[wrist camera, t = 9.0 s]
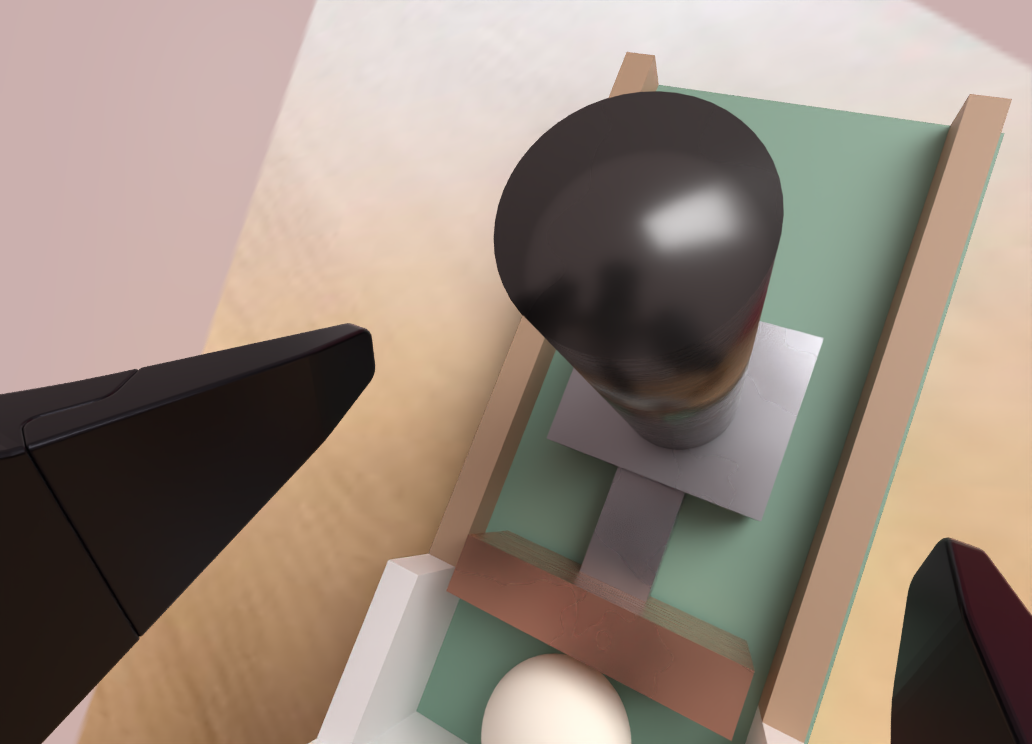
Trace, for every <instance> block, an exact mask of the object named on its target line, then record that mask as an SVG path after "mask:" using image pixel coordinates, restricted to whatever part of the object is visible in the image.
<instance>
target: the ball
mask: <svg viewBox="0 0 1032 744" xmlns="http://www.w3.org/2000/svg"><path fill="white" fill-rule="evenodd" d="M481 744H631V731H630V726H629V721H628V717H627V714H626V710H625V708H624V705H623V703H622V701H621V699H620V697H619V695H618V693H617V691H616V690H615V689H614V687H613V686H612V684H611V683H610V682H609V681H608V679H607V678H606V677H605V676H604V675H603V674H602V673H601V672H599V671H597V670H596V669H594V668H592V667H590V666H588V665H586V664H584V663H582V662H580V661H578V660H577V659H575V658H573V657H571V656H569V655H565V654H555V653H554V654H543V655H538V656H535V657H532V658H529V659H527V660H525V661H523V662H521V663H519V664H518V665H516V666H515V667H514V668H512V669H511V670H510V671H509V672H508V673H507V674H506V675H505V676H504V677H503V678H502V679H501V680H500V681H499V683H498V684H497V686H496V687H495V689H494V691H493V693H492V695H491V697H490V699H489V701H488V704H487V706H486V709H485V713H484V717H483V722H482V731H481Z"/></svg>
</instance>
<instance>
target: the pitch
mask: <svg viewBox="0 0 1032 744" xmlns="http://www.w3.org/2000/svg"><path fill="white" fill-rule="evenodd" d="M649 91H662V92H674V93H681V94H685V95H690V96H695V97H698V98H700V99H703V100H706V101H709V102H712V103H714V104H716V105H718V106H720V107H722V108H724V109H726V110H727V111H729V112H730V113H732V114H733V115H735V116H736V117H737V118H739V119H740V120H742V121H743V122H744V123H745V124H746V125H747V126H748V127H749V128H750V129H751V130H752V131H753V132H754V133H755V134H756V135H757V137H758V138H759V139H760V140H761V142H762V143H763V144H764V146H765V147H766V149H767V151H768V152H769V154H770V156H771V158H772V160H773V161H774V164H775V167H776V170H777V172H778V175H779V178H780V183H781V188H782V193H783V207H784V217H783V225H782V233H781V238H780V242H779V246H778V250H777V254H776V258H775V262H774V266H773V270H772V274H771V278H770V282H769V286H768V290H767V294H766V298H765V302H764V306H763V310H762V314H761V318H760V321H762V322H765V323H769V324H773V325H777V326H780V327H784V328H788V329H791V330H795V331H799V332H802V333H806V334H810V335H813V336H817V337H821V338H824V339H823V342H822V345H821V348H820V351H819V354H818V357H817V360H816V362H815V365H814V368H813V371H812V374H811V377H810V380H809V383H808V386H807V389H806V392H805V395H804V398H803V400H802V403H801V406H800V409H799V412H798V415H797V418H796V421H795V424H794V427H793V430H792V433H791V436H790V439H789V441H788V444H787V447H786V450H785V453H784V456H783V459H782V462H781V465H780V468H779V471H778V474H777V477H776V479H775V482H774V485H773V488H772V491H771V494H770V497H769V500H768V503H767V506H766V509H765V512H764V515H763V517H762V520H761V521H756V520H753V519H751V518H748V517H745V516H743V515H740V514H738V513H735V512H732V511H730V510H727V509H725V508H722V507H720V506H717V505H714V504H712V503H709V502H707V501H704V500H702V499H699V498H696V497H694V496H691V495H689V494H686V497H685V500H684V503H683V505H682V508H681V511H680V514H679V517H678V519H677V522H676V525H675V528H674V531H673V534H672V536H671V539H670V542H669V545H668V548H667V550H666V553H665V556H664V559H663V562H662V564H661V567H660V570H659V573H658V576H657V578H656V581H655V584H654V587H653V590H652V593H651V595H650V596H651V597H653V598H655V599H657V600H660V601H662V602H664V603H666V604H668V605H670V606H673V607H675V608H677V609H679V610H681V611H683V612H686V613H688V614H690V615H692V616H694V617H696V618H699V619H701V620H703V621H705V622H707V623H709V624H712V625H714V626H716V627H718V628H720V629H722V630H725V631H727V632H729V633H731V634H733V635H735V636H738V637H740V638H742V639H744V640H746V641H747V643H748V647H749V651H750V655H751V659H752V662H753V666H754V670H755V672H754V675H753V678H752V681H751V684H750V687H749V690H748V693H747V696H746V699H745V702H744V705H743V708H742V711H741V714H740V717H739V720H738V723H737V726H736V729H735V732H734V735H733V738H732V741H731V740H729V739H727V738H725V737H723V736H721V735H719V734H717V733H715V732H713V731H712V730H710V729H708V728H706V727H704V726H702V725H700V724H698V723H696V722H694V721H693V720H691V719H689V718H687V717H685V716H683V715H681V714H679V713H677V712H675V711H674V710H672V709H670V708H668V707H666V706H664V705H662V704H660V703H658V702H656V701H655V700H653V699H651V698H649V697H647V696H645V695H643V694H641V693H639V692H637V691H635V690H634V689H632V688H630V687H628V686H626V685H624V684H622V683H620V682H618V681H616V680H615V679H613V678H611V677H609V676H607V675H605V674H603V673H602V674H603V675H604V676H605V677H606V678H607V679H608V681H609V682H610V683H611V684H612V686H613V687H614V689H615V690H616V691H617V693H618V695H619V697H620V699H621V701H622V703H623V705H624V708H625V710H626V714H627V717H628V721H629V726H630V731H631V744H745V743H746V740H747V737H748V734H749V731H750V728H751V725H752V722H753V719H754V716H755V713H756V710H757V707H758V706H759V711H760V715H761V719H762V722H763V723H765V724H766V725H768V726H770V727H772V728H774V729H776V730H778V731H780V732H782V733H784V734H786V735H788V736H790V737H792V738H794V739H796V740H798V741H800V742H802V743H804V744H808V741H809V738H810V735H811V732H812V729H813V726H814V723H815V720H816V717H817V713H818V710H819V707H820V704H821V701H822V698H823V695H824V692H825V689H826V685H827V682H828V679H829V676H830V673H831V670H832V667H833V664H834V661H835V658H836V654H837V651H838V648H839V645H840V642H841V639H842V636H843V633H844V630H845V626H846V623H847V620H848V617H849V614H850V611H851V608H852V605H853V602H854V599H855V595H856V592H857V589H858V586H859V583H860V580H861V577H862V574H863V571H864V568H865V564H866V561H867V558H868V555H869V552H870V549H871V546H872V543H873V540H874V536H875V533H876V530H877V527H878V524H879V521H880V518H881V515H882V512H883V509H884V505H885V502H886V499H887V496H888V493H889V490H890V487H891V484H892V481H893V477H894V474H895V471H896V468H897V465H898V462H899V459H900V456H901V453H902V450H903V446H904V443H905V440H906V437H907V434H908V431H909V428H910V425H911V422H912V419H913V415H914V412H915V409H916V406H917V403H918V400H919V397H920V394H921V391H922V387H923V384H924V381H925V378H926V375H927V372H928V369H929V366H930V363H931V360H932V356H933V353H934V350H935V347H936V344H937V341H938V338H939V335H940V332H941V328H942V325H943V322H944V319H945V316H946V313H947V310H948V307H949V304H950V301H951V297H952V294H953V291H954V288H955V285H956V282H957V279H958V276H959V273H960V269H961V266H962V263H963V260H964V257H965V254H966V251H967V248H968V245H969V242H970V238H971V235H972V232H973V229H974V226H975V223H976V220H977V217H978V214H979V211H980V207H981V204H982V201H983V198H984V195H985V192H986V189H987V186H988V183H989V179H990V176H991V173H992V170H993V167H994V164H995V161H996V158H997V155H998V152H999V148H1000V145H1001V142H1002V139H1003V136H1004V133H1001V131H1002V128H1003V125H1004V122H1005V119H1006V116H1007V113H1008V110H1009V107H1010V104H1011V100H1012V99H1006V98H998V97H990V96H982V95H974V94H970V95H969V96H968V98H967V100H966V101H965V103H964V105H963V106H962V108H961V109H960V111H959V113H958V114H957V116H956V118H955V119H954V121H953V122H952V124H951V126H948V125H941V124H934V123H926V122H919V121H912V120H905V119H898V118H891V117H884V116H877V115H869V114H862V113H855V112H848V111H841V110H834V109H827V108H820V107H812V106H805V105H798V104H791V103H784V102H777V101H770V100H763V99H755V98H748V97H741V96H734V95H727V94H720V93H713V92H706V91H698V90H691V89H684V88H677V87H670V86H663V85H659V84H658V76H657V69H656V61H655V55H647V54H638V53H630V52H627V53H626V55H625V58H624V60H623V63H622V65H621V68H620V70H619V73H618V75H617V78H616V80H615V83H614V86H613V88H612V91H611V93H610V96H609V98H611V97H615V96H619V95H622V94H629V93H636V92H649ZM573 368H574V367H573V366H572V365H571V364H570V363H569V362H568V361H567V360H566V359H565V358H564V357H563V356H562V355H561V354H560V353H559V352H558V351H557V350H556V349H555V348H554V347H553V346H552V345H551V344H550V343H549V342H548V341H547V340H546V339H545V338H544V337H543V336H542V335H541V333H540V332H539V331H538V330H537V329H536V328H535V327H534V326H533V325H532V324H531V323H530V322H529V321H528V320H527V319H526V318H525V317H524V316H522V318H521V321H520V323H519V326H518V328H517V331H516V333H515V336H514V338H513V341H512V344H511V346H510V349H509V351H508V354H507V356H506V359H505V361H504V364H503V366H502V369H501V371H500V374H499V376H498V379H497V381H496V384H495V387H494V389H493V392H492V394H491V397H490V399H489V402H488V404H487V407H486V409H485V412H484V414H483V417H482V419H481V422H480V424H479V427H478V430H477V432H476V435H475V437H474V440H473V442H472V445H471V447H470V450H469V452H468V455H467V457H466V460H465V462H464V465H463V467H462V470H461V473H460V475H459V478H458V480H457V483H456V485H455V488H454V490H453V493H452V495H451V498H450V500H449V503H448V505H447V508H446V510H445V513H444V516H443V518H442V521H441V523H440V526H439V528H438V531H437V533H436V536H435V538H434V541H433V543H432V546H431V548H430V551H429V553H428V554H430V555H432V556H434V557H436V558H438V559H440V560H442V561H444V562H446V563H448V564H450V565H452V566H454V567H456V565H457V562H458V559H459V557H460V554H461V552H462V549H463V547H464V544H465V541H466V539H467V536H468V534H477V533H487V532H498V531H510V532H512V533H515V534H517V535H519V536H521V537H523V538H525V539H528V540H530V541H532V542H534V543H536V544H538V545H541V546H543V547H545V548H547V549H549V550H551V551H554V552H556V553H558V554H560V555H562V556H564V557H566V558H569V559H571V560H573V561H575V562H577V563H579V564H582V563H583V561H584V558H585V555H586V552H587V550H588V547H589V544H590V542H591V539H592V536H593V533H594V531H595V528H596V525H597V523H598V520H599V517H600V514H601V512H602V509H603V506H604V504H605V501H606V498H607V496H608V493H609V490H610V487H611V485H612V482H613V479H614V477H615V474H616V471H617V468H618V467H617V466H614V465H612V464H609V463H606V462H604V461H601V460H599V459H596V458H594V457H591V456H588V455H586V454H583V453H581V452H578V451H576V450H573V449H570V448H568V447H565V446H563V445H561V444H558V443H556V442H554V441H551V440H549V439H547V436H548V433H549V431H550V428H551V425H552V423H553V420H554V418H555V415H556V412H557V410H558V407H559V404H560V402H561V399H562V397H563V394H564V391H565V389H566V386H567V384H568V381H569V378H570V376H571V373H572V371H573ZM554 653H555V654H565V653H563V652H561V651H559V650H558V649H556V648H554V647H552V646H550V645H548V644H546V643H544V642H542V641H540V640H538V639H537V638H535V637H533V636H531V635H529V634H527V633H525V632H523V631H521V630H519V629H518V628H516V627H514V626H512V625H510V624H508V623H506V622H504V621H502V620H500V619H499V618H497V617H495V616H493V615H491V614H489V613H487V612H485V611H483V610H481V609H480V608H478V607H476V606H474V605H472V604H470V603H468V602H466V601H464V600H462V599H461V598H460V599H459V602H458V604H457V607H456V610H455V612H454V615H453V617H452V620H451V622H450V625H449V628H448V630H447V633H446V635H445V638H444V640H443V643H442V646H441V648H440V651H439V653H438V656H437V659H436V661H435V664H434V666H433V669H432V671H431V674H430V677H429V679H428V682H427V684H426V687H425V690H424V692H423V695H422V697H421V700H420V702H419V705H418V708H417V710H416V711H417V712H418V713H420V714H421V715H423V716H425V717H426V718H428V719H429V720H431V721H433V722H434V723H436V724H437V725H439V726H441V727H442V728H444V729H445V730H447V731H449V732H450V733H452V734H453V735H455V736H457V737H458V738H460V739H461V740H463V741H465V742H466V743H468V744H481V731H482V722H483V717H484V713H485V709H486V706H487V704H488V701H489V699H490V697H491V695H492V693H493V691H494V689H495V687H496V686H497V684H498V683H499V681H500V680H501V679H502V678H503V677H504V676H505V675H506V674H507V673H508V672H509V671H510V670H511V669H512V668H514V667H515V666H516V665H518V664H519V663H521V662H523V661H525V660H527V659H529V658H532V657H535V656H538V655H543V654H554ZM565 655H567V654H565Z"/></svg>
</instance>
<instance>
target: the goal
mask: <svg viewBox="0 0 1032 744" xmlns="http://www.w3.org/2000/svg"><path fill="white" fill-rule="evenodd" d="M454 570H455V567H454V566H452V565H450V564H448V563H446V562H444V561H442V560H440V559H438V558H436V557H434V556H432V555H430V554H423V555H417V556H410V557H403V558H397V559H390V560H388V562H387V565H386V567H385V570H384V572H383V575H382V577H381V580H380V582H379V585H378V587H377V590H376V592H375V595H374V597H373V600H372V602H371V605H370V607H369V610H368V612H367V615H366V617H365V620H364V622H363V625H362V627H361V630H360V632H359V635H358V637H357V640H356V642H355V644H354V647H353V649H352V652H351V654H350V657H349V659H348V662H347V664H346V667H345V669H344V672H343V674H342V677H341V679H340V682H339V684H338V687H337V689H336V692H335V694H334V697H333V699H332V702H331V704H330V707H329V709H328V712H327V714H326V717H325V719H324V722H323V724H322V727H321V729H320V732H319V734H318V737H317V739H315V740H313V741H312V742H310V743H308V744H468V743H466V742H465V741H463V740H461V739H460V738H458V737H457V736H455V735H453V734H452V733H450V732H449V731H447V730H445V729H444V728H442V727H441V726H439V725H437V724H436V723H434V722H433V721H431V720H429V719H428V718H426V717H425V716H423V715H421V714H420V713H418V712H417V711H416V710H417V708H418V705H419V702H420V700H421V697H422V695H423V692H424V690H425V687H426V684H427V682H428V679H429V677H430V674H431V671H432V669H433V666H434V664H435V661H436V659H437V656H438V653H439V651H440V648H441V646H442V643H443V640H444V638H445V635H446V633H447V630H448V628H449V625H450V622H451V620H452V617H453V615H454V612H455V610H456V607H457V604H458V602H459V599H460V598H459V597H457V596H455V595H453V594H451V593H449V592H447V591H446V590H447V588H448V585H449V583H450V580H451V577H452V575H453V572H454ZM745 744H804V743H802V742H800V741H798V740H796V739H794V738H792V737H790V736H788V735H786V734H784V733H782V732H780V731H778V730H776V729H774V728H772V727H770V726H768V725H766V724H765V723H763V722H762V719H761V715H760V711H759V706H758V707H757V710H756V713H755V716H754V719H753V722H752V725H751V728H750V731H749V734H748V737H747V740H746V743H745Z"/></svg>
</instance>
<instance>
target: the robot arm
mask: <svg viewBox="0 0 1032 744" xmlns="http://www.w3.org/2000/svg"><path fill="white" fill-rule="evenodd" d="M374 373H375V359H374V351H373V342H372V336H371V334H370V332H369V331H368V330H367V329H365V328H363V327H360V326H357V325H354V324H350V323H347V324H341V325H337V326H332V327H328V328H323V329H318V330H314V331H309V332H305V333H300V334H295V335H291V336H286V337H281V338H277V339H272V340H268V341H263V342H258V343H254V344H249V345H244V346H240V347H235V348H231V349H226V350H221V351H217V352H212V353H207V354H203V355H198V356H194V357H189V358H185V359H180V360H175V361H171V362H166V363H162V364H157V365H152V366H147V367H143V368H141V369H139V370H137V369H133V370H128V371H124V372H120V373H115V374H110V375H105V376H100V377H95V378H91V379H85V380H80V381H75V382H70V383H64V384H58V385H54V386H47V387H41V388H36V389H30V390H24V391H18V392H12V393H6V394H0V744H42V742H44V741H45V739H46V738H47V737H48V736H49V735H50V734H51V733H52V732H53V731H54V730H55V729H56V728H57V727H58V726H59V724H60V723H61V722H62V721H63V720H64V719H65V718H66V717H67V716H68V715H69V714H70V713H71V712H72V711H73V710H74V708H75V707H76V706H77V705H78V704H79V703H80V702H81V701H82V700H83V699H84V698H85V697H86V696H87V695H88V694H89V692H90V691H91V690H92V689H93V688H94V687H95V686H96V685H97V684H98V683H99V682H100V681H101V680H102V679H103V678H104V676H105V675H106V674H107V673H108V672H109V671H110V670H111V669H112V668H113V667H114V666H115V665H116V664H117V663H118V662H119V660H120V659H121V658H122V657H123V656H124V655H125V654H126V653H127V652H128V651H129V650H130V649H131V648H132V647H133V646H134V644H135V643H136V642H137V641H138V640H139V636H142V635H143V634H144V633H145V632H146V631H147V630H148V629H149V628H150V627H151V626H152V625H153V624H154V623H155V622H156V621H157V619H158V618H159V617H160V616H161V615H162V614H163V613H164V612H165V611H166V610H167V609H168V608H169V607H170V606H171V605H172V603H173V602H174V601H175V600H176V599H177V598H178V597H179V596H180V595H181V594H182V593H183V592H184V591H185V590H186V589H187V588H188V586H189V585H190V584H191V583H192V582H193V581H194V580H195V579H196V578H197V577H198V576H199V575H200V574H201V573H202V572H203V570H204V569H205V568H206V567H207V566H208V565H209V564H210V563H211V562H212V561H213V560H214V559H215V558H216V557H217V556H218V554H219V553H220V552H221V551H222V550H223V549H224V548H225V547H226V546H227V545H228V544H229V543H230V542H231V541H232V540H233V538H234V537H235V536H236V535H237V534H238V533H239V532H240V531H241V530H242V529H243V528H244V527H245V526H246V525H247V524H248V522H249V521H250V520H251V519H252V518H253V517H254V516H255V515H256V514H257V513H258V512H259V511H260V510H261V509H262V508H263V506H264V505H265V504H266V503H267V502H268V501H269V500H270V499H271V498H272V497H273V496H274V495H275V494H276V493H277V492H278V491H279V489H280V488H281V487H282V486H283V485H284V484H285V483H286V482H287V481H288V480H289V479H290V478H291V477H292V476H293V475H294V473H295V472H296V471H297V470H298V469H299V468H300V467H301V466H302V465H303V464H304V463H305V462H306V461H307V460H308V459H309V457H310V456H311V455H312V454H313V453H314V452H315V451H316V450H317V449H318V448H319V447H320V446H321V444H322V443H323V442H324V441H325V440H326V439H327V437H328V436H329V435H330V434H331V432H332V431H333V430H334V429H335V427H336V426H337V425H338V423H339V422H340V421H341V419H342V418H343V417H344V415H345V414H346V413H347V411H348V410H349V409H350V408H351V406H352V405H353V404H354V402H355V401H356V400H357V398H358V397H359V396H360V394H361V393H362V392H363V390H364V389H365V388H366V387H367V385H368V384H369V383H370V381H371V380H372V378H373V376H374ZM891 744H1032V615H1031V614H1030V612H1029V611H1028V609H1027V608H1026V607H1025V605H1024V604H1023V603H1022V601H1021V600H1020V599H1019V597H1018V596H1017V594H1016V593H1015V592H1014V590H1013V589H1012V588H1011V586H1010V585H1009V584H1008V582H1007V581H1006V579H1005V578H1004V577H1003V575H1002V574H1001V573H1000V571H999V570H998V569H997V567H996V566H995V565H994V563H993V562H992V560H991V559H990V558H989V556H988V555H987V554H986V553H985V552H984V551H983V550H981V549H980V548H978V547H975V546H972V545H969V544H966V543H964V542H961V541H958V540H955V539H952V538H943V539H942V540H940V541H939V542H938V543H937V544H936V546H935V547H934V548H933V550H932V551H931V553H930V554H929V555H928V557H927V558H926V560H925V561H924V562H923V564H922V565H921V567H920V568H919V569H918V571H917V572H916V574H915V575H914V577H913V579H912V581H911V584H910V587H909V590H908V596H907V602H906V609H905V615H904V622H903V628H902V635H901V641H900V648H899V654H898V661H897V667H896V674H895V680H894V688H893V696H892V709H891Z"/></svg>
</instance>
